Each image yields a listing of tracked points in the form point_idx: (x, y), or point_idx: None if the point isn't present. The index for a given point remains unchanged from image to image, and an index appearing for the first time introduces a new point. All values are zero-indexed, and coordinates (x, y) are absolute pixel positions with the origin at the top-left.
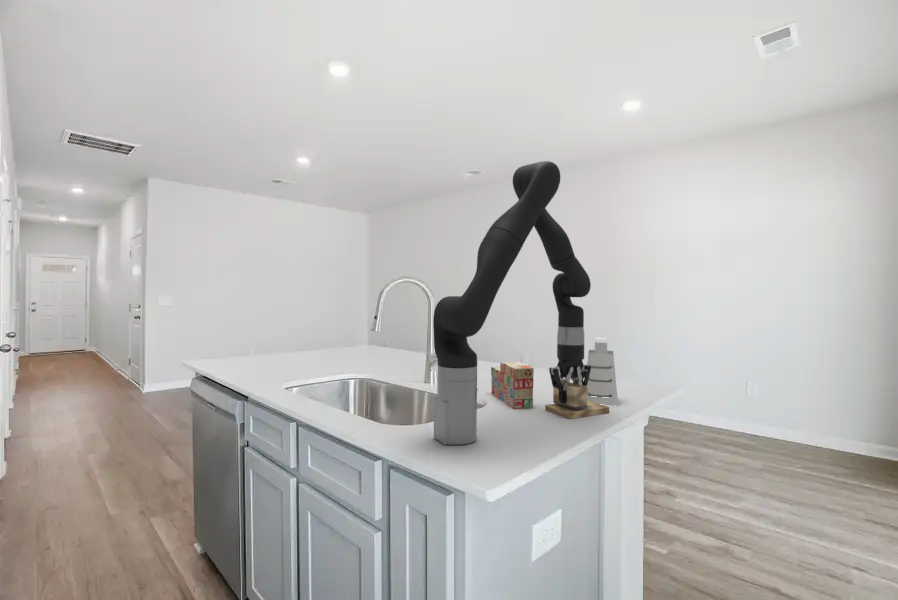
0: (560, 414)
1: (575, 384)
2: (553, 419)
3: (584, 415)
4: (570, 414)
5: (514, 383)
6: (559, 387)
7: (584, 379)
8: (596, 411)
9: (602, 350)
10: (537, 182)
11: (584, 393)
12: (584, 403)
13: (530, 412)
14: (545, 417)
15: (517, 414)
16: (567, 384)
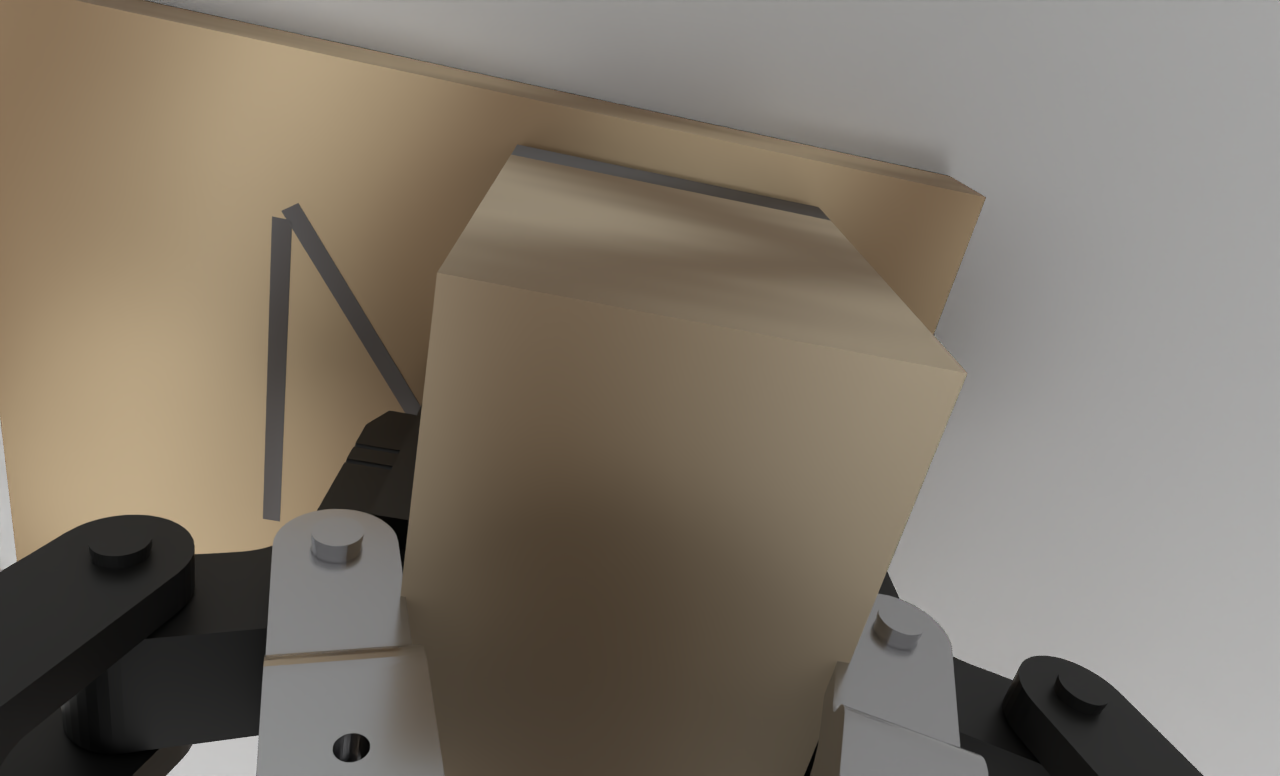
0: None
1: (473, 656)
2: (1122, 303)
3: (628, 106)
4: (942, 181)
5: None
6: (1079, 687)
7: (73, 681)
8: (334, 47)
9: None
10: None
11: (570, 239)
12: (583, 177)
13: (1004, 665)
14: (1098, 429)
15: (1196, 687)
16: (843, 688)
